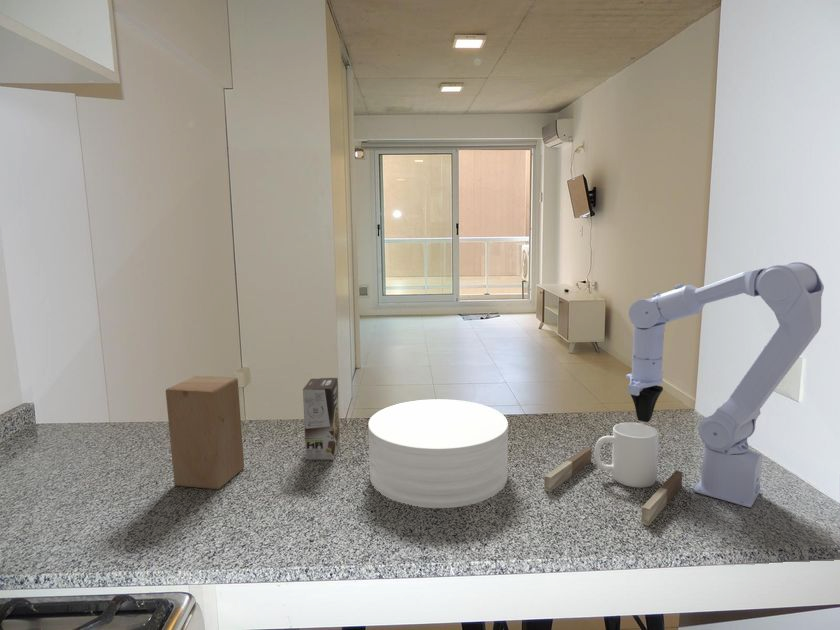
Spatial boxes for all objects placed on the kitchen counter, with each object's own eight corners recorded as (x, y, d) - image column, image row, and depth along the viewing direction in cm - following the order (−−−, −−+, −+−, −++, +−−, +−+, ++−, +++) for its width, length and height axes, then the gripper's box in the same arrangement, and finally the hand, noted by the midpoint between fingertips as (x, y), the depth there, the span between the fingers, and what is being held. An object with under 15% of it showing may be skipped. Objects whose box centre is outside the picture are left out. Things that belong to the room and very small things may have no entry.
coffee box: (334, 460, 121) (331, 388, 118) (305, 460, 121) (301, 389, 118) (341, 443, 130) (338, 376, 127) (314, 443, 130) (310, 377, 127)
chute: (681, 486, 106) (682, 472, 105) (648, 526, 93) (649, 509, 92) (585, 459, 119) (586, 446, 118) (544, 490, 105) (544, 475, 105)
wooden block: (219, 490, 108) (211, 391, 104) (173, 486, 110) (164, 389, 106) (245, 468, 117) (238, 376, 114) (202, 464, 119) (195, 375, 116)
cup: (663, 488, 105) (665, 437, 104) (599, 488, 106) (600, 438, 104) (647, 469, 114) (649, 422, 112) (588, 469, 114) (589, 422, 112)
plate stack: (467, 439, 131) (467, 392, 130) (535, 490, 106) (536, 433, 104) (353, 459, 121) (351, 409, 119) (398, 522, 95) (396, 459, 94)
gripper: (640, 347, 121) (637, 407, 123) (614, 360, 110) (611, 425, 112) (674, 352, 116) (670, 414, 119) (650, 366, 106) (646, 433, 108)
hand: (644, 420), depth 115 cm, fingers closed
